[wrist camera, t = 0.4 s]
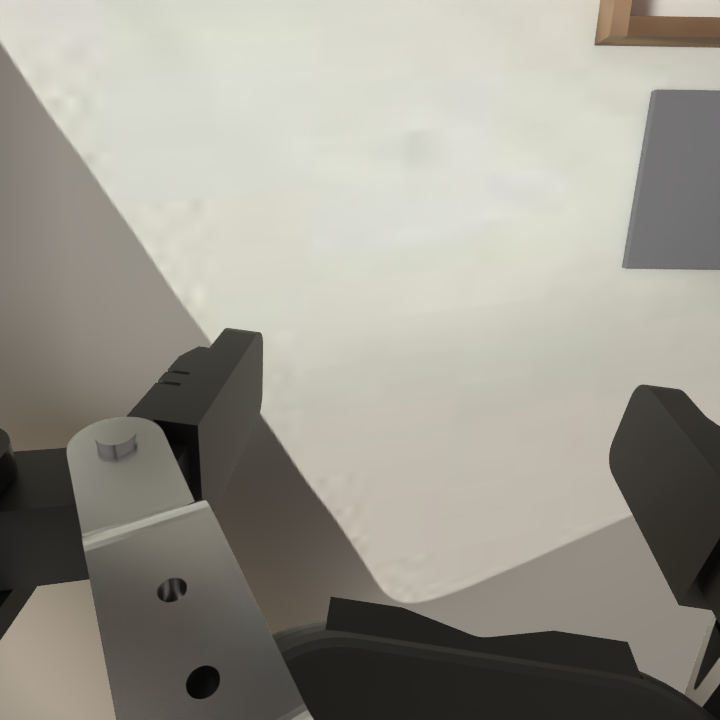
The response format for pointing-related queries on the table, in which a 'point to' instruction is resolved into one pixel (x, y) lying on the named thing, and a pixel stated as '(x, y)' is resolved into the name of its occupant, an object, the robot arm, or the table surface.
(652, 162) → the rubber mat
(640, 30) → the walnut holder
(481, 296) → the table surface
